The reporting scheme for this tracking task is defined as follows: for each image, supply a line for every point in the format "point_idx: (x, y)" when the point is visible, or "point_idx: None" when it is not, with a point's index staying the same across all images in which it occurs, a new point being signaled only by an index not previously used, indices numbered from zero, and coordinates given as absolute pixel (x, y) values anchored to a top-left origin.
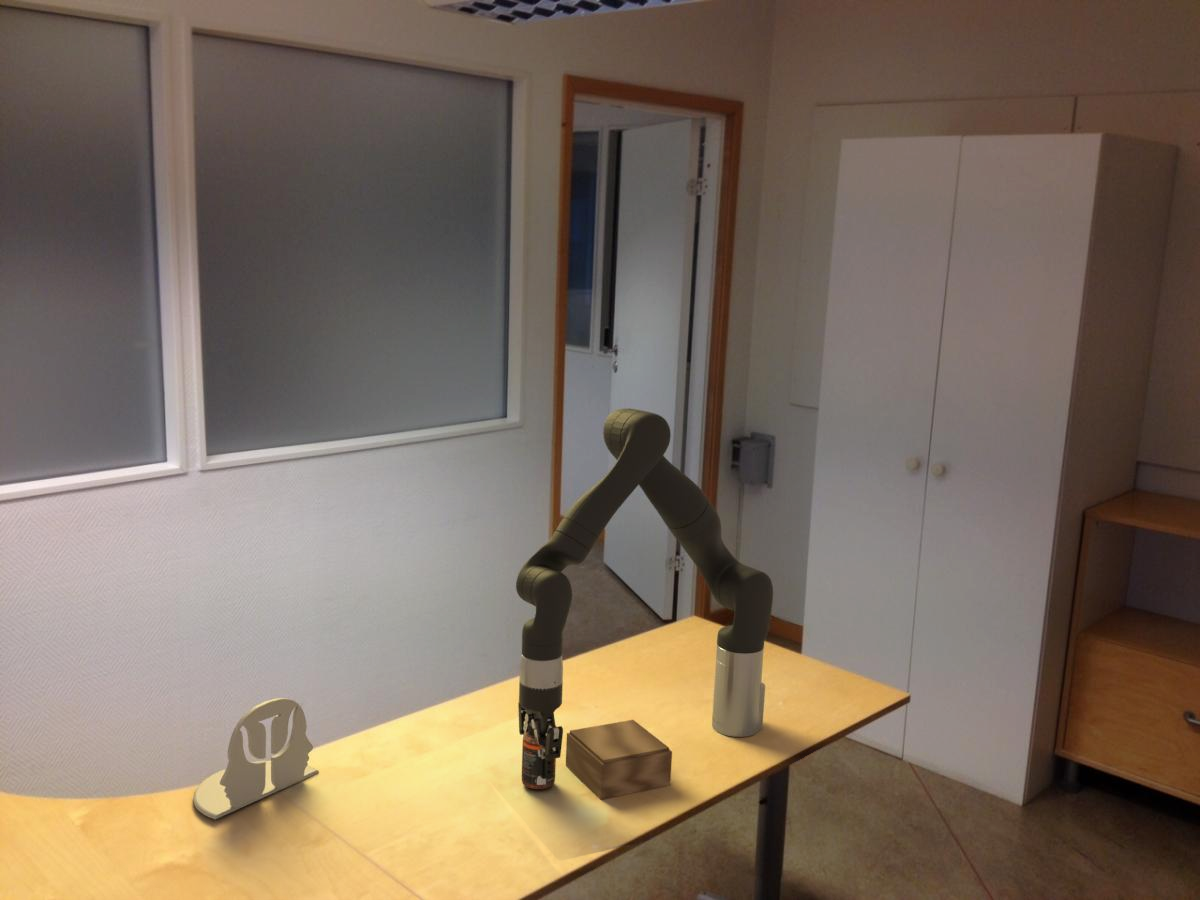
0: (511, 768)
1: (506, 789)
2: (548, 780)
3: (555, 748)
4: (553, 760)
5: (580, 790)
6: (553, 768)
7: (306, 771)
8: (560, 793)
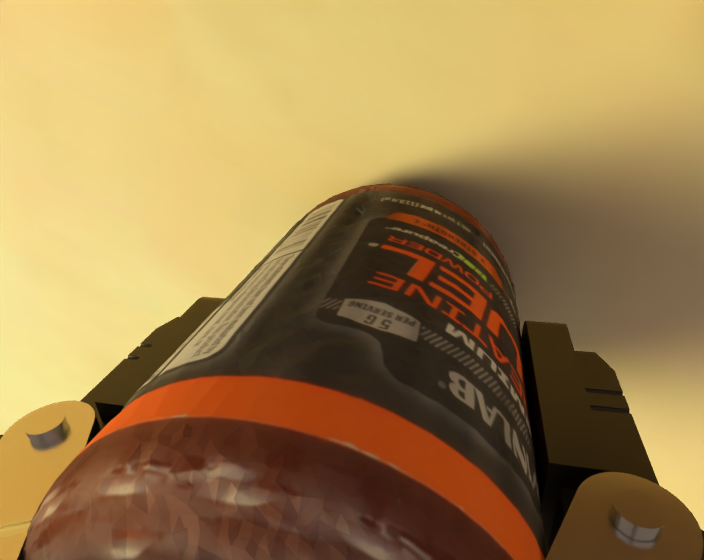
0: (145, 315)
1: None
2: (517, 311)
3: (481, 429)
4: (595, 430)
5: (628, 8)
6: (498, 303)
7: None
8: (578, 197)
